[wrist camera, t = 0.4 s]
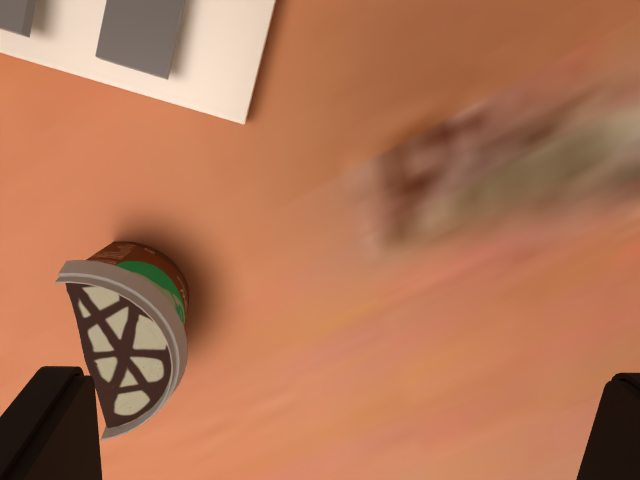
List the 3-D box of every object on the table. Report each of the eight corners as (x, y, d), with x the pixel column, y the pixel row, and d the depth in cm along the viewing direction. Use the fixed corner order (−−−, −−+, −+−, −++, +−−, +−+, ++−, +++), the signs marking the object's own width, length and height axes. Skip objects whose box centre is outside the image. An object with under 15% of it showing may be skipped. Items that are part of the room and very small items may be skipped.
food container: (214, 352, 41) (197, 433, 32) (142, 361, 41) (103, 446, 31) (189, 214, 37) (161, 260, 28) (108, 223, 37) (52, 273, 27)
